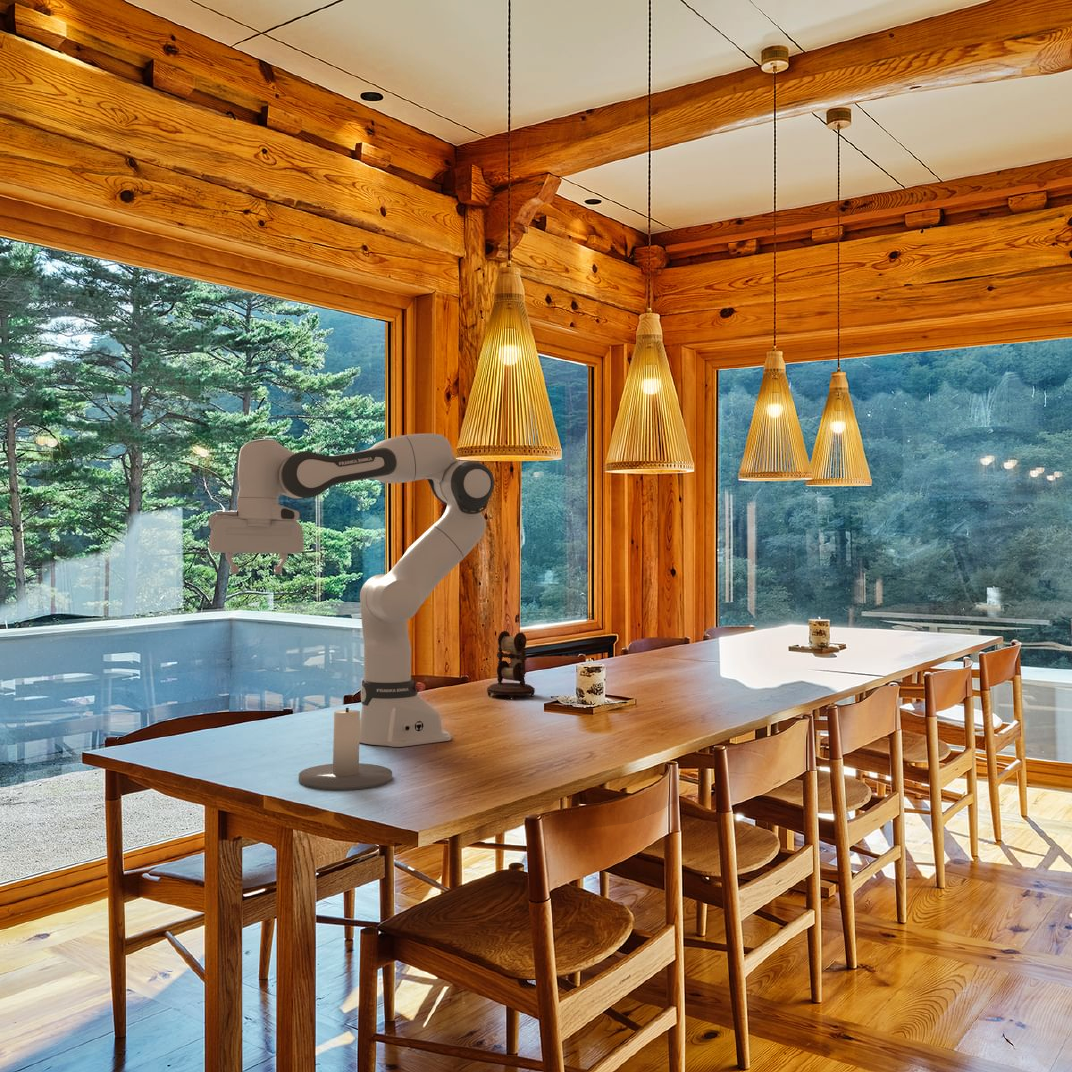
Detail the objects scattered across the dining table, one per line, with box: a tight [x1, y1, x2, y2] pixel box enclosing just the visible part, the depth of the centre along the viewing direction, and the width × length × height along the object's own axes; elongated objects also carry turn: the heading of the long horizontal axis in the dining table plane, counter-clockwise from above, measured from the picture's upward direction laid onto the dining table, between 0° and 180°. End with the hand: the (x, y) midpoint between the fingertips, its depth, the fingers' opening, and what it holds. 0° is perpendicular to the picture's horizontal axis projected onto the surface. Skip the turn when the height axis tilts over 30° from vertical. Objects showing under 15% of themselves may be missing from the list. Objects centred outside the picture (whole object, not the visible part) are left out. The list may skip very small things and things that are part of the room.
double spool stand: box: [486, 630, 536, 699], centre depth 306 cm, size 15×15×20 cm
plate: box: [298, 762, 393, 792], centre depth 194 cm, size 18×18×1 cm
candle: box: [332, 707, 361, 776], centre depth 194 cm, size 5×5×13 cm
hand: (256, 573), depth 220 cm, fingers open, 8 cm apart
